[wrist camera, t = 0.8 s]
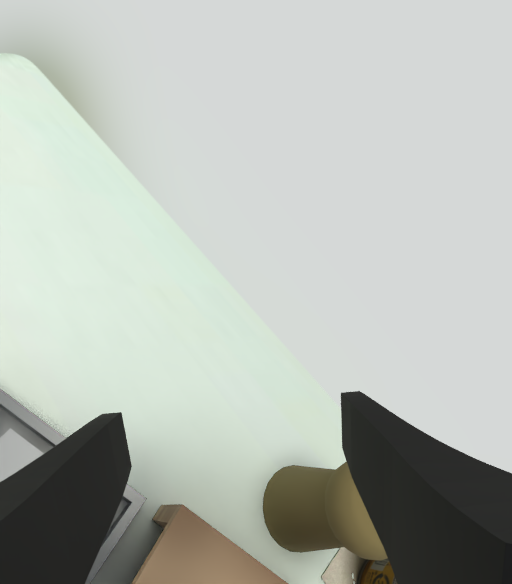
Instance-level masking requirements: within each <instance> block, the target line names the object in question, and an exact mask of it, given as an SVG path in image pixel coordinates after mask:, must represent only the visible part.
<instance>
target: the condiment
mask: <svg viewBox="0 0 512 584" xmlns="http://www.w3.org/2000/svg"><path fill="white" fill-rule="evenodd" d="M352 573H353V574H354V579H352ZM322 579H323V580H324V582H325V583H326V584H353V581H355V584H397V581H396V578H395V575H394V573H393V570H392V567H391V564H390V562H389V559H388V558H387V559H384V560H381V561H378V560H368V559H364V558H361V557H359V556H357V555H355V554H354V553H352V552H350V551H349V550H347V549H346V548H345V547H341V548H340V550H339V551H338V553H337V554H336V556H335V557H334V558H333V560H332V561H331V563H330V565H329V566H328V568H327V569H326V571H325V572H324V574H323V575H322Z"/></svg>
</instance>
